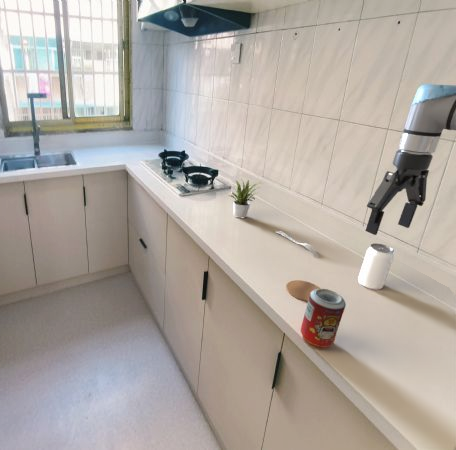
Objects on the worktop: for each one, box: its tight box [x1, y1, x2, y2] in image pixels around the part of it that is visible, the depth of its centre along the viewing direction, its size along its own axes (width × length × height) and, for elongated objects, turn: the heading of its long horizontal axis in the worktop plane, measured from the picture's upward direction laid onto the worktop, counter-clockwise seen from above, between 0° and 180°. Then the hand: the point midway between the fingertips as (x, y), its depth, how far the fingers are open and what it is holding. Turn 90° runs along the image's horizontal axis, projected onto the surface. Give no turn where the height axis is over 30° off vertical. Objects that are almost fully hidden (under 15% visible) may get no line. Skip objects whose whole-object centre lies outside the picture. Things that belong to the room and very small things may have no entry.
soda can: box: [300, 288, 347, 350], centre depth 74 cm, size 7×7×12 cm
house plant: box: [227, 178, 262, 218], centre depth 141 cm, size 14×14×16 cm
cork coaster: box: [285, 279, 322, 303], centre depth 95 cm, size 10×10×1 cm
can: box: [357, 242, 395, 291], centre depth 97 cm, size 6×6×12 cm
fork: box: [275, 230, 320, 258], centre depth 122 cm, size 3×21×3 cm, turn 20°
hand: (387, 229), depth 92 cm, fingers open, 13 cm apart
